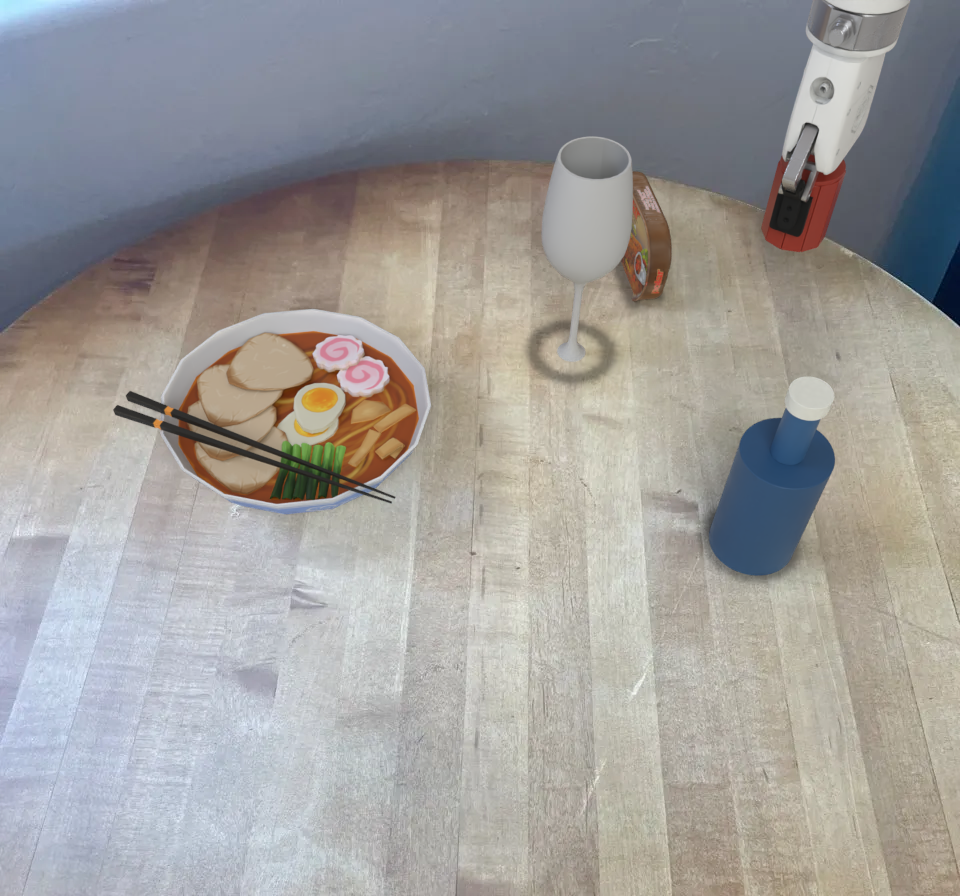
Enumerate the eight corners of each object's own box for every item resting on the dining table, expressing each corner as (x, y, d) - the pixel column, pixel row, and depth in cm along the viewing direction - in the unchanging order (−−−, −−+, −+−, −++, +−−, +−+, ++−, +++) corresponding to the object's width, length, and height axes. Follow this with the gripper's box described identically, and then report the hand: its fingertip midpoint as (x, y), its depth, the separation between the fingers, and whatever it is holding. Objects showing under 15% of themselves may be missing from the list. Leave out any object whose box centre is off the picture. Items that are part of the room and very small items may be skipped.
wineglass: (521, 375, 96) (535, 175, 78) (544, 324, 100) (562, 122, 82) (597, 394, 95) (628, 196, 77) (617, 342, 98) (652, 141, 80)
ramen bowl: (485, 418, 93) (487, 351, 86) (370, 603, 82) (361, 544, 75) (255, 338, 98) (239, 268, 91) (117, 502, 87) (87, 437, 80)
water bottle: (803, 536, 86) (878, 380, 71) (771, 595, 83) (842, 445, 67) (727, 502, 88) (783, 342, 72) (692, 558, 85) (744, 404, 69)
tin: (598, 225, 108) (608, 153, 101) (626, 223, 108) (638, 150, 101) (634, 319, 100) (648, 248, 93) (664, 316, 100) (680, 244, 93)
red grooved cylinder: (832, 225, 100) (855, 155, 93) (809, 259, 97) (831, 190, 90) (776, 206, 101) (795, 136, 95) (752, 239, 98) (770, 170, 92)
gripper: (864, 78, 77) (802, 274, 92) (934, -18, 85) (866, 177, 100) (773, 51, 79) (727, 247, 94) (849, -39, 87) (795, 155, 102)
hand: (799, 210), depth 97 cm, fingers closed on red grooved cylinder, 6 cm apart
